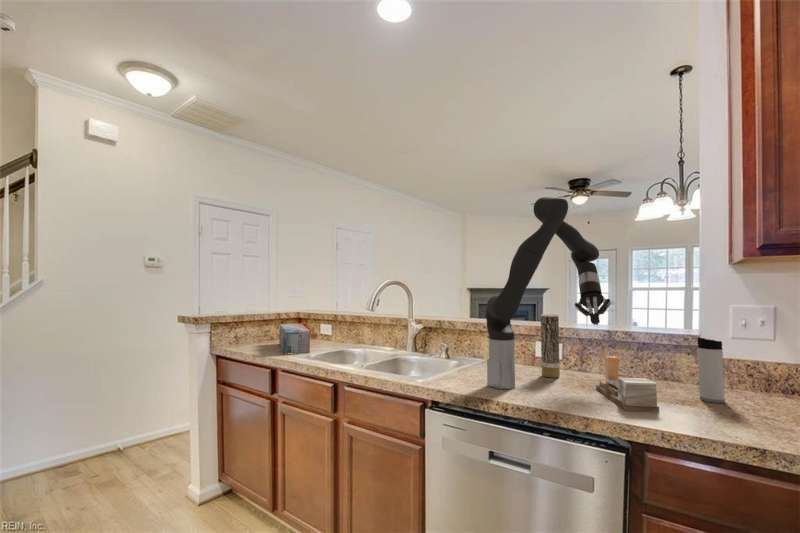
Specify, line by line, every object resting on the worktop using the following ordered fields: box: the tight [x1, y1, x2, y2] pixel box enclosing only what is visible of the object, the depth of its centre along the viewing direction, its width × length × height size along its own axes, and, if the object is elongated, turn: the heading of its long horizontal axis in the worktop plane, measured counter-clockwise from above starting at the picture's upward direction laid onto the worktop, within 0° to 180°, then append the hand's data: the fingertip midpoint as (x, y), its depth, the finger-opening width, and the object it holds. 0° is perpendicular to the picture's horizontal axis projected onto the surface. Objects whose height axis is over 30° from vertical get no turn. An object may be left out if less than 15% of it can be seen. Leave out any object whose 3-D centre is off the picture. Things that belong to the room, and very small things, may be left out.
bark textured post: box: [540, 313, 561, 379], centre depth 154 cm, size 7×7×25 cm
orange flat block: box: [604, 355, 619, 390], centre depth 127 cm, size 13×3×10 cm, turn 172°
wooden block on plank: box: [595, 377, 660, 413], centre depth 123 cm, size 24×9×8 cm, turn 172°
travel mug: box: [697, 337, 726, 404], centre depth 122 cm, size 6×7×20 cm
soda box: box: [278, 323, 311, 354], centre depth 224 cm, size 41×14×13 cm, turn 22°
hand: (595, 323), depth 139 cm, fingers closed
